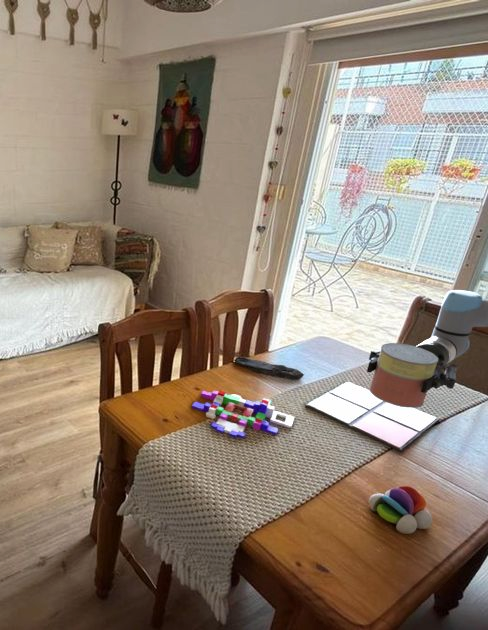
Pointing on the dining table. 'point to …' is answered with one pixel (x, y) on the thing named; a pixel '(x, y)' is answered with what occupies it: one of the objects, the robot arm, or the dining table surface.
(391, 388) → the canned food
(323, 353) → the dining table surface
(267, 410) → the building block set
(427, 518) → the rainbow cloud toy
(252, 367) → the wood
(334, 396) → the board
